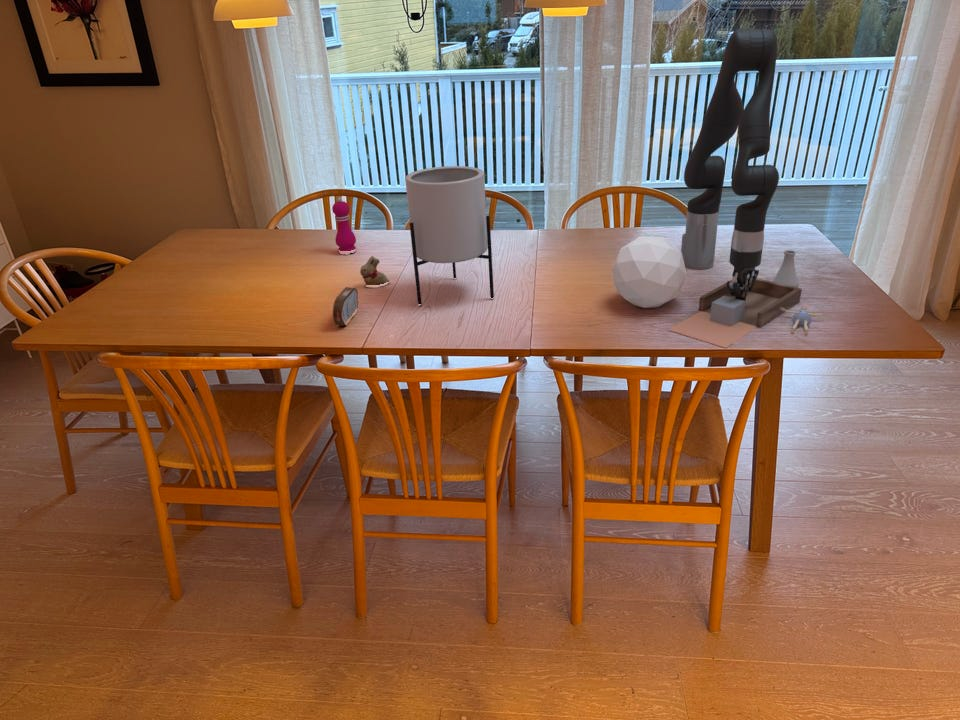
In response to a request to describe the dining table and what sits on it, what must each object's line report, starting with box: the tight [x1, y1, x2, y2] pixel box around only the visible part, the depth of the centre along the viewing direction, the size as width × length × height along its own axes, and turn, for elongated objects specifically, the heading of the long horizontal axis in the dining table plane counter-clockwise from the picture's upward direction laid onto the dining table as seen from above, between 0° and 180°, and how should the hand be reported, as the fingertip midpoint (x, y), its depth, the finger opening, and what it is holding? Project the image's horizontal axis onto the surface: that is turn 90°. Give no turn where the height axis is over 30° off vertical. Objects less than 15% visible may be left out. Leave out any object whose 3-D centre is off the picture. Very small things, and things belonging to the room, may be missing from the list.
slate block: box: [710, 296, 745, 326], centre depth 178 cm, size 6×6×5 cm
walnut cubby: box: [698, 277, 803, 328], centre depth 185 cm, size 17×22×4 cm
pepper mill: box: [332, 196, 357, 251], centre depth 244 cm, size 7×7×20 cm
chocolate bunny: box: [359, 255, 390, 285], centre depth 215 cm, size 6×8×10 cm
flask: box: [772, 249, 800, 288], centre depth 196 cm, size 7×7×10 cm
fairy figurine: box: [780, 305, 829, 336], centre depth 173 cm, size 12×5×12 cm
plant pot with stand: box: [404, 165, 495, 305], centre depth 198 cm, size 24×24×36 cm
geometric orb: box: [611, 235, 688, 309], centre depth 187 cm, size 19×20×20 cm
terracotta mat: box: [668, 311, 758, 349], centre depth 175 cm, size 16×16×1 cm
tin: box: [332, 286, 359, 326], centre depth 192 cm, size 15×3×8 cm, turn 171°
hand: (739, 309), depth 182 cm, fingers closed
